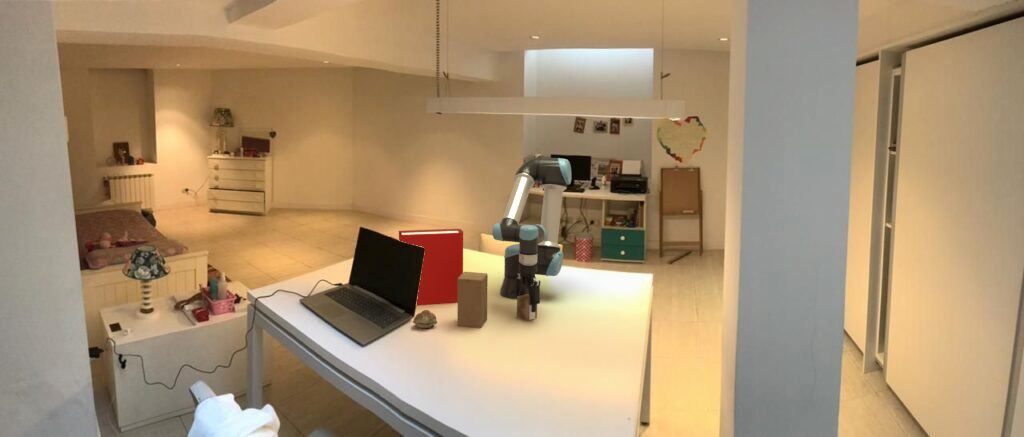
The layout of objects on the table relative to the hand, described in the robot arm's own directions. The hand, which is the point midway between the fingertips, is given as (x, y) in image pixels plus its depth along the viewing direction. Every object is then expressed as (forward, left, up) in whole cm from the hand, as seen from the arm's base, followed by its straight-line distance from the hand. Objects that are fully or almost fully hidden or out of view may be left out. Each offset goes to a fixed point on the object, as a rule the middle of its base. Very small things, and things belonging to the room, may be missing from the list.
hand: (526, 316), depth 261 cm
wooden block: (-8, -22, -1) cm, 23 cm away
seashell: (-15, -40, -1) cm, 43 cm away
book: (-40, -22, -1) cm, 46 cm away
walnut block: (0, 0, 0) cm, 0 cm away
